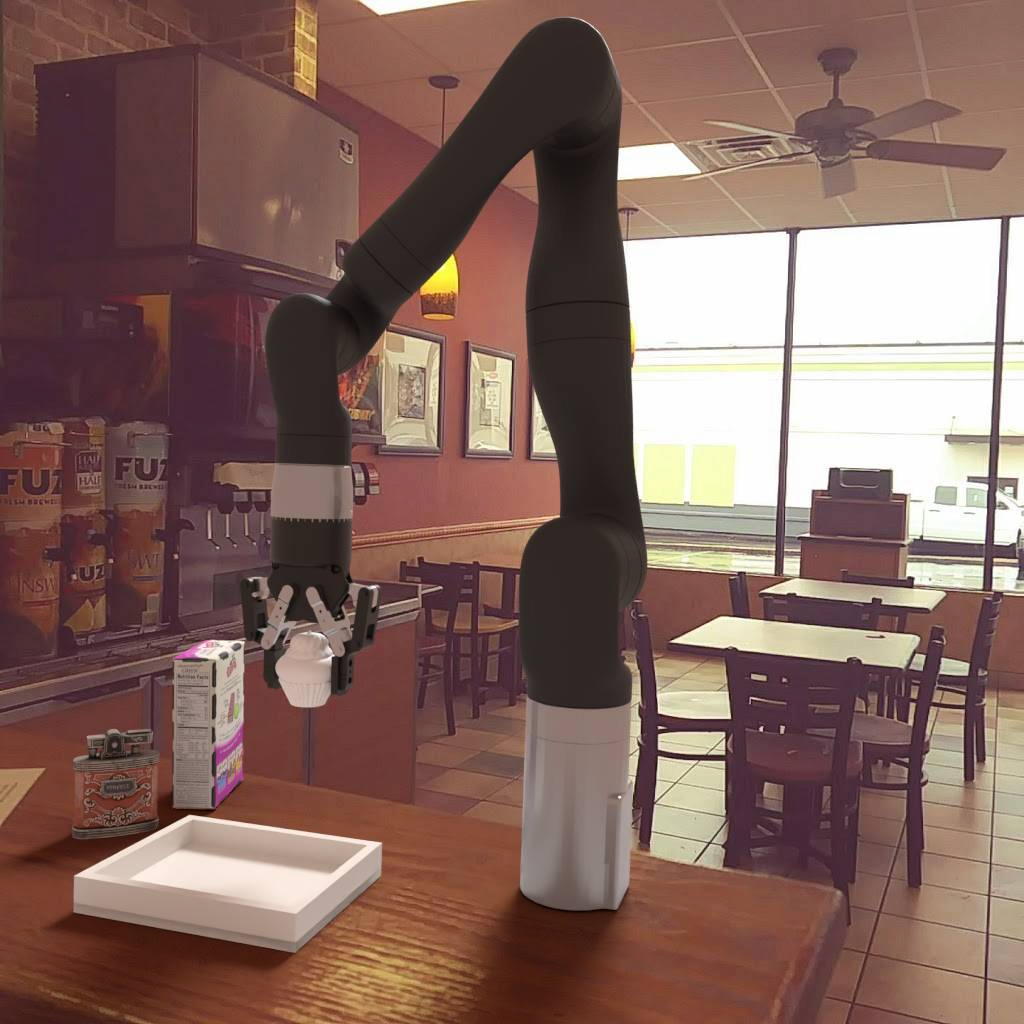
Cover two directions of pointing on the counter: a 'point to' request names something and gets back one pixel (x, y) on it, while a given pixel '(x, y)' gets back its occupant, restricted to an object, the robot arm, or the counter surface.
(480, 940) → the counter surface
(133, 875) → the tray
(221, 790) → the candy bar box
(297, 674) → the muffin
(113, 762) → the lighter
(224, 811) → the counter surface
